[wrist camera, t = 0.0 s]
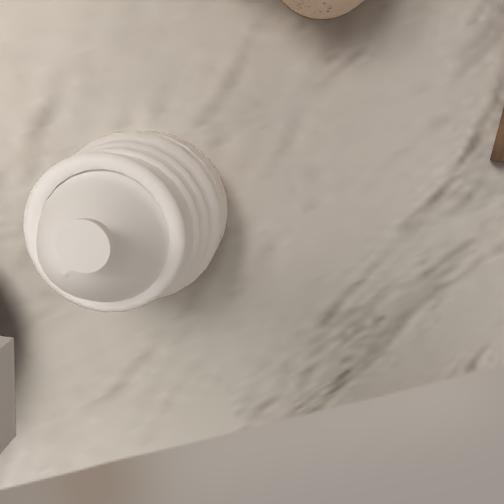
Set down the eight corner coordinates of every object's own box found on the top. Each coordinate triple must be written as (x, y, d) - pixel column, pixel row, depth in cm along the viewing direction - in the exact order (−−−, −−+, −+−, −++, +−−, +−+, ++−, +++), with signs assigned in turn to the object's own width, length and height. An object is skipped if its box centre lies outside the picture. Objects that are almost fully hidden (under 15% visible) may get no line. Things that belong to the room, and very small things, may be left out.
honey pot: (156, 97, 36) (46, 64, 18) (258, 217, 38) (247, 290, 21) (49, 199, 38) (-136, 254, 21) (151, 306, 41) (60, 437, 23)
